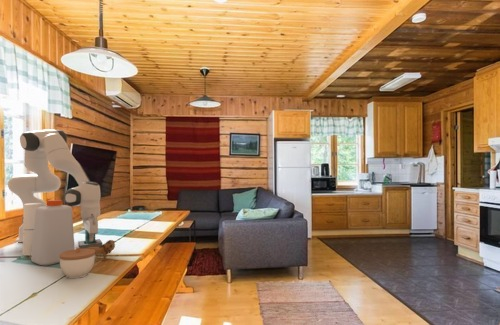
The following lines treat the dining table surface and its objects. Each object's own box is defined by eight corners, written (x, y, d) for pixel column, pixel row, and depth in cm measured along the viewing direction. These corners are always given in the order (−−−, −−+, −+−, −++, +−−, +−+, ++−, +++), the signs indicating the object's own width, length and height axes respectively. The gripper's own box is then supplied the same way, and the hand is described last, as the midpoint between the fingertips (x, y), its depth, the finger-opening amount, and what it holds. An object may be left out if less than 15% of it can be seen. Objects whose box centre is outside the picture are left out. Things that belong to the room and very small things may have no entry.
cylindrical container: (31, 256, 148) (31, 204, 148) (18, 255, 149) (19, 204, 150) (43, 252, 155) (44, 203, 155) (32, 251, 156) (32, 202, 157)
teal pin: (93, 243, 159) (93, 228, 159) (95, 245, 156) (95, 229, 156) (85, 245, 156) (85, 229, 156) (86, 246, 153) (86, 230, 153)
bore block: (78, 251, 157) (78, 241, 157) (99, 248, 163) (99, 239, 163) (79, 255, 149) (80, 245, 149) (102, 252, 154) (102, 242, 155)
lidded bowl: (87, 267, 131) (87, 242, 131) (100, 274, 123) (100, 247, 123) (54, 275, 121) (54, 248, 122) (66, 283, 113) (66, 253, 114)
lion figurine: (114, 257, 147) (114, 238, 147) (115, 259, 143) (115, 240, 143) (79, 261, 140) (79, 242, 140) (79, 264, 135) (80, 244, 135)
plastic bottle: (78, 259, 144) (79, 199, 144) (42, 267, 131) (43, 202, 132) (63, 253, 152) (64, 198, 153) (27, 261, 140) (29, 200, 140)
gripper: (101, 215, 150) (101, 243, 150) (93, 210, 166) (93, 235, 166) (87, 216, 146) (86, 245, 146) (80, 211, 162) (80, 237, 162)
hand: (90, 240), depth 156 cm, fingers closed on teal pin, 4 cm apart
